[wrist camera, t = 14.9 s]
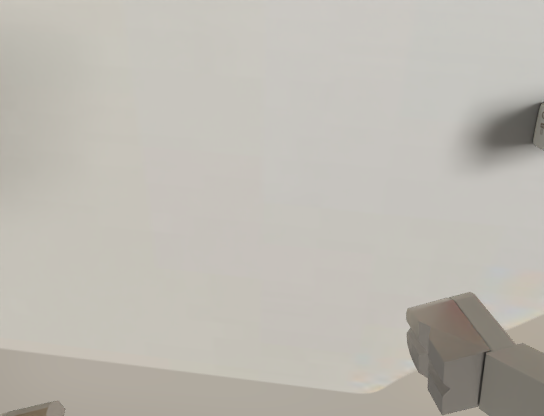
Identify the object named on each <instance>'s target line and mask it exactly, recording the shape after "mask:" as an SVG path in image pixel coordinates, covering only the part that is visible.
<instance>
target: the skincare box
mask: <svg viewBox="0 0 544 416" xmlns="http://www.w3.org/2000/svg"><path fill="white" fill-rule="evenodd" d="M533 143H534V145H535V146H537V147H539V148H540V149H542V150H544V103H542V104H541V106H540V109H539V113H538V117H537V122H536V127H535V132H534V138H533Z"/></svg>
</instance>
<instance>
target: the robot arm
mask: <svg viewBox="0 0 544 416" xmlns="http://www.w3.org/2000/svg"><path fill="white" fill-rule="evenodd" d="M406 320H407V322H408V324H409V325H410V327H411V328H410V329H409V331H408V332H407V344H408V348H409V352H410V355H411V358H412V360H413V362H414V364H415V366H416V368H417V370H418V372H419V373H420V374H422V375H424V376H425V377H427V378H428V391H429V392H430V394H431V396H432V398H433V400H434V401H435V403H436V405H437V407H438V409H439V411H440V412H441V414H442V415H445V414H449V413H453V412H457V411H461V410H465V409H469V408H474V407H478V406H479V409H481V410H482V411H484V412H485V413H486V414H488V415H489V416H544V353H543V352H540V351H538V350H536V349H534V348H532V347H530V346H528V345H526V344H524V343H522V344H517V345H516V344H515V342H514V341H513V340H512V339H511V338H510V336H509V335H508V334H507V333H506V332H505V330H504V329H503V328H502V327H501V326H500V324H499V323H498V322H497V321H496V320H495V318H494V317H493V316H492V315H491V314H490V312H489V311H488V310H487V309H486V307H485V306H484V305H483V304H482V303H481V301H480V300H479V299H478V298H477V297H476V295H475V294H473V293H471V292H468V293H464V294H460V295H457V296H453V297H449V298H444V299H440V300H437V301H433V302H429V303H426V304H422V305H418V306H415V307H411V308H408V309H407V312H406ZM64 413H65V408H64V407H63V405H62V404H61V403H60V402H59V401H53V402H48V403H44V404H40V405H35V406H31V407H27V408H23V409H19V410H14V411H10V412H6V413H2V414H0V416H64Z"/></svg>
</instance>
